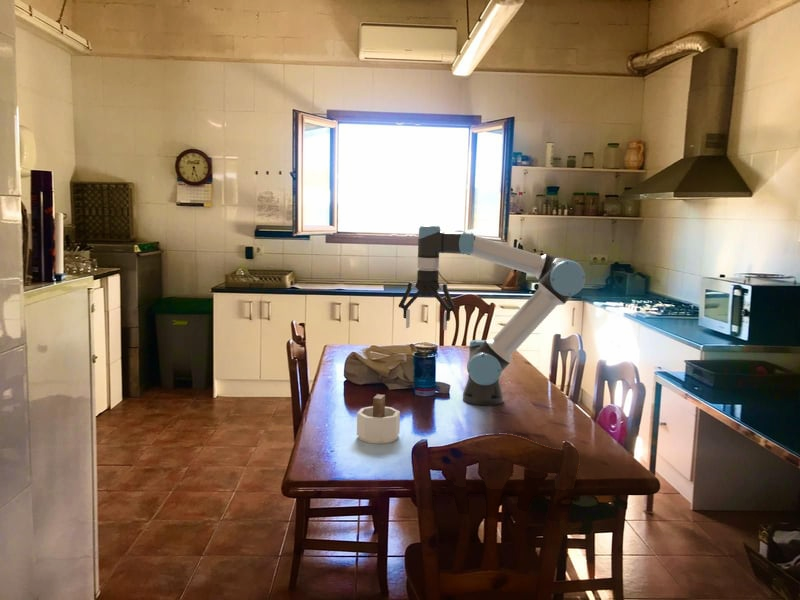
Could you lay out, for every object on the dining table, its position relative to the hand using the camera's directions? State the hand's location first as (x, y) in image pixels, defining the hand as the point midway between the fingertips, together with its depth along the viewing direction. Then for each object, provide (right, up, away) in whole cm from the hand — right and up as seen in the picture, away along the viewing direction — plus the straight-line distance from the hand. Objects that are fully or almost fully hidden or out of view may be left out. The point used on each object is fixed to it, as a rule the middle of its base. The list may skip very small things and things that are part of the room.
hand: (426, 328), depth 233 cm
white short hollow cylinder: (-16, -33, -29) cm, 47 cm away
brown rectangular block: (-16, -32, -29) cm, 46 cm away
